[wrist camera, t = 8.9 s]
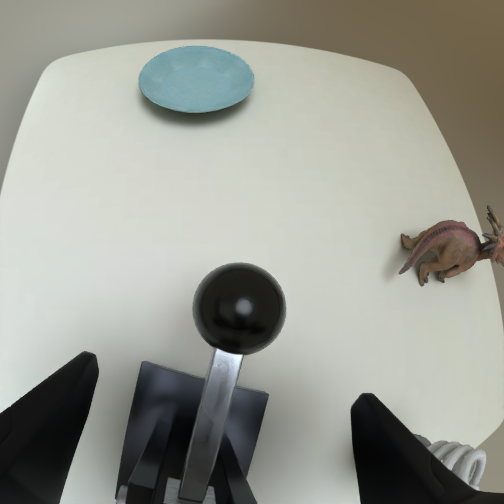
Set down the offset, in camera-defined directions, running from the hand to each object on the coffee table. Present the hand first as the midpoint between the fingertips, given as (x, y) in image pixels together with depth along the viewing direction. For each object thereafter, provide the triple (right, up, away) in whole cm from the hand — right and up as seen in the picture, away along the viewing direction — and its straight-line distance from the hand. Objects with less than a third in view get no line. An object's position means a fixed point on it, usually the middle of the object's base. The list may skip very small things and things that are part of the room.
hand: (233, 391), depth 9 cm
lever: (-1, -3, +3) cm, 4 cm away
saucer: (-5, +22, +19) cm, 29 cm away
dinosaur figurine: (+19, +4, +18) cm, 27 cm away
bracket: (-4, -10, +9) cm, 14 cm away
